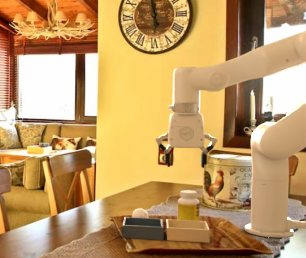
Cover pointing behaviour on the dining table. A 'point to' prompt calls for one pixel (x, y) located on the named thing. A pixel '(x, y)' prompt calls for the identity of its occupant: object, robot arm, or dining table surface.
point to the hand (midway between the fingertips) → (185, 166)
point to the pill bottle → (188, 206)
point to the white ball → (140, 213)
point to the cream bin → (187, 230)
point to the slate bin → (143, 228)
